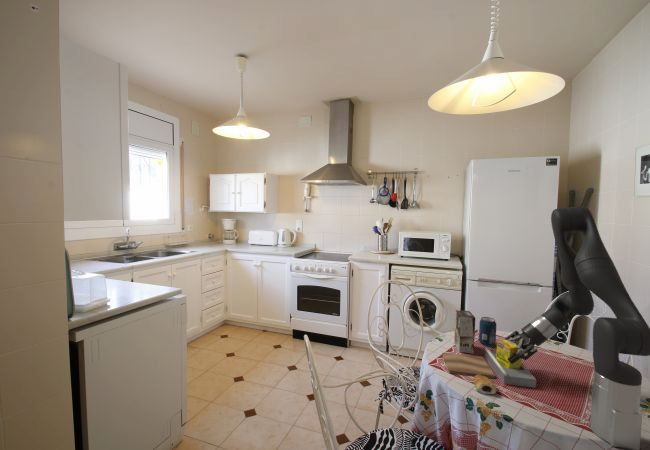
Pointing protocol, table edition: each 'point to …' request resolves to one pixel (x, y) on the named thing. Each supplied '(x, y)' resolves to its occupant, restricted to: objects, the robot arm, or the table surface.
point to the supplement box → (507, 354)
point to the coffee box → (464, 331)
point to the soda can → (487, 331)
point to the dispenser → (510, 372)
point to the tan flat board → (467, 365)
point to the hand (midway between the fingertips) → (504, 356)
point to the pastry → (484, 385)
